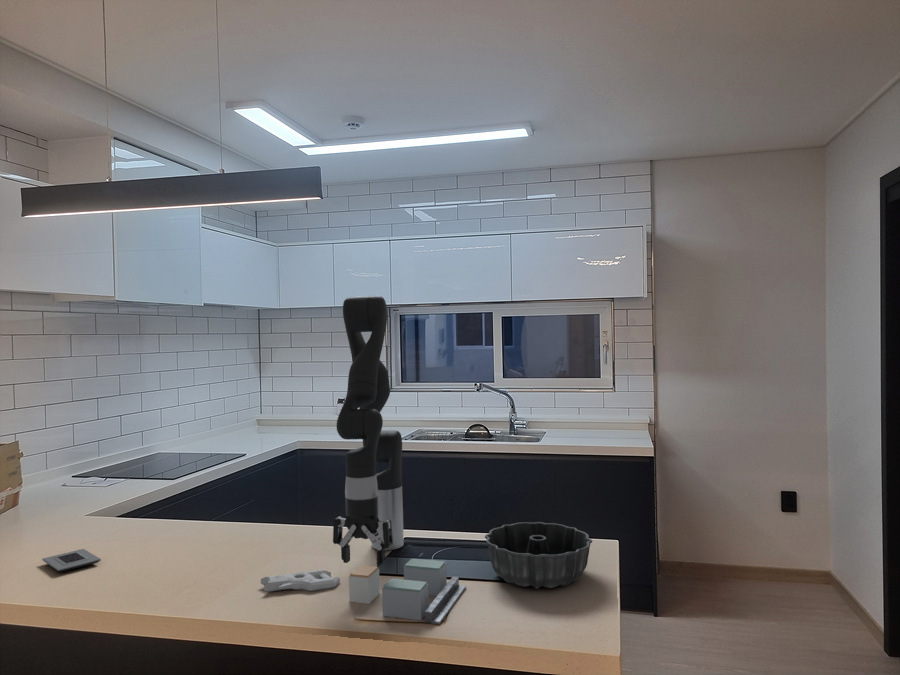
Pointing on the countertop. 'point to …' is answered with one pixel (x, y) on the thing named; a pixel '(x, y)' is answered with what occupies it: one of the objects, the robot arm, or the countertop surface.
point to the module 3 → (405, 599)
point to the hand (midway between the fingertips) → (363, 563)
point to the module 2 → (427, 574)
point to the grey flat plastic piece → (301, 581)
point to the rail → (444, 601)
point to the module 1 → (364, 584)
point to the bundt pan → (538, 553)
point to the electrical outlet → (71, 560)
